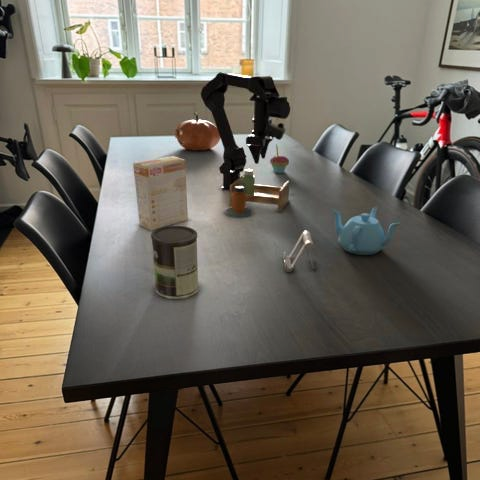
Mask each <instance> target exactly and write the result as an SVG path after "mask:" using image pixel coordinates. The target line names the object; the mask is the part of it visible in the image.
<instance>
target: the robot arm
mask: <svg viewBox="0 0 480 480" xmlns="http://www.w3.org/2000/svg"><path fill="white" fill-rule="evenodd" d="M230 86H231V87H236V88H240V89H246V90H247V91H248V92H249V93H252V94H253V95H251V97H249V98H248V99H249V101H250V102H253V118H252V119H251V122H252V123H253V126H252V127H253V130H252V131H251V134H249V135H248V136H247V137H246V138H245V145H246V146H247V148H248V149H249V152H250V154H251V157H252V159H253V162H254V164H255V165H256V164H257V165H259V162H260V157H261V159H264V160H265V159H266V155H267V151H268V148H269V145H270V143H271V142H272V141H273V140H274V139H276V140H279V141H281V139H283V137H284V135H285V133H286V128H285V124H284V123H282V122H279V123H278V124H276V123H273V119H272V118H275V119H282V120H286V119H287V118H288V117H289V116H290V114H291V113H290V112H291V105H290V102H289V101H288V97H287V96H281V95H280V93H279V91H278V89H277V87H276V84H275V81H274V78H273V76H271V75H259V76H249V75H244V74H238V73H232V72H229V71H219V72H218V73H217V74H216V75H215V76H214V77H213V78H212V79H211V80H209V81H208V82H207V83H206V84H205V85H204V86H203V87H202V89H201V91H200V98H201V101H202V102H203V104H204V106H205V107H206V108H207V109H208V110H209V111H210V112H211V115H212V117H213V121H214V123H215V126H216V127H217V129H218V132H219V135H220V141H221V143H222V146H223V154H222V159H223V163H222V164H221V165H220V166H219V168H218V170H219V174H222V186H221V190H226V191H227V190H229V191H230V185H231V184H232V183H234V182H235V181H236V180H237V179H239V178H240V177H241V176H242V175H241V173H243V172H244V171H245V167H246V164H247V158H248V157H247V155H246V153H245V149H244V147H243V146H241V147H239V145H238V144H237V143H236V139H235V137H234V133H233V131H232V127H231V125H230V122H229V119H228V116H227V113H226V110H225V102H226V100H225V99H226V98H225V94H226V92H227V91H228V89H229V87H230Z"/></svg>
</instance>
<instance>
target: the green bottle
mask: <svg viewBox="0 0 480 480" xmlns="http://www.w3.org/2000/svg"><path fill="white" fill-rule="evenodd" d="M242 176H243V178H242V186H243V187H244V193H246V194H254V184H256V181H255V180H256V176H255V175H254V169H251V168H247V169H245V168H244V173H243V175H242Z"/></svg>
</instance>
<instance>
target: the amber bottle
mask: <svg viewBox="0 0 480 480" xmlns="http://www.w3.org/2000/svg"><path fill="white" fill-rule="evenodd" d="M246 202H247V201H246V193H244V187H243V186H236V187H235V192H234V193H233V206H232V207H233V212H236V213H243V212H245V208H246Z"/></svg>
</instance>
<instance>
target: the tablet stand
mask: <svg viewBox="0 0 480 480" xmlns="http://www.w3.org/2000/svg"><path fill="white" fill-rule="evenodd" d="M302 241H303V244H302V246H301V248H300V249H299V252H298V253H297V255H296V256H295V258H294V260H293V262H291V261H292V258H293V256H294V254H295V252H296V251H297V250H298V248H299V245H300V244H301V242H302ZM314 247H315V245H314V242H313V239H312V235H311V232H310V231H309V230H304V231H302V233H301V235H300V237H299V238H298V240H297V242H296V243H295V245H294V247H293V249H292V251H291V252H290V253H289V254H287V251H283V255H282V256H283V265H284V271H285V272H287V273H291V272H292V271H293V270H294V268H295V267H296V265H297V263H298V261H299V259H300V258H301V256H302V254H303V253H304V251H306V253H307V256H308V259H309V262H310V265H311V267H312V270H315V267H314V263H313V260H312V257H311V253H310V251H312V250H313V249H314Z"/></svg>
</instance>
